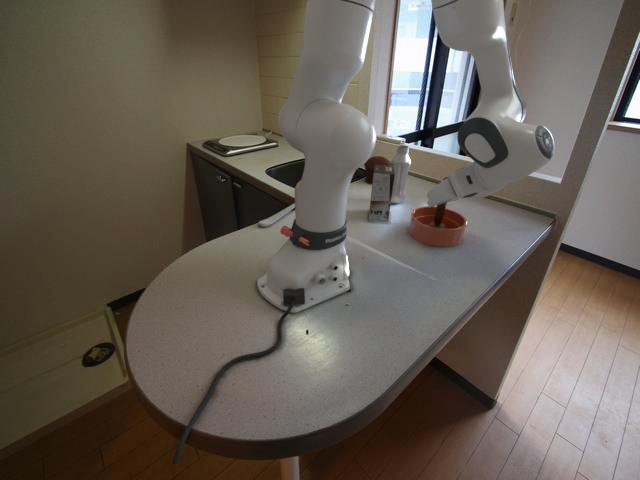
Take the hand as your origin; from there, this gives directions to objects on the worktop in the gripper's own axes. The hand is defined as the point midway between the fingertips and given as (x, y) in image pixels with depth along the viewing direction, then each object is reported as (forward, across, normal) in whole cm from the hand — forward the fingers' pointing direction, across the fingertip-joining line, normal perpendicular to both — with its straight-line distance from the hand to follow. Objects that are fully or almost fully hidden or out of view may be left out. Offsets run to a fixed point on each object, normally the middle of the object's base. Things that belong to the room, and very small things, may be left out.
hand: (441, 201), depth 89 cm
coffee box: (+20, +7, -5) cm, 22 cm away
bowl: (+8, 0, +8) cm, 11 cm away
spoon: (+33, +28, -17) cm, 47 cm away
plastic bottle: (+25, -6, -9) cm, 27 cm away
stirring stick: (+7, 0, +7) cm, 10 cm away
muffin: (+40, -14, -24) cm, 49 cm away
